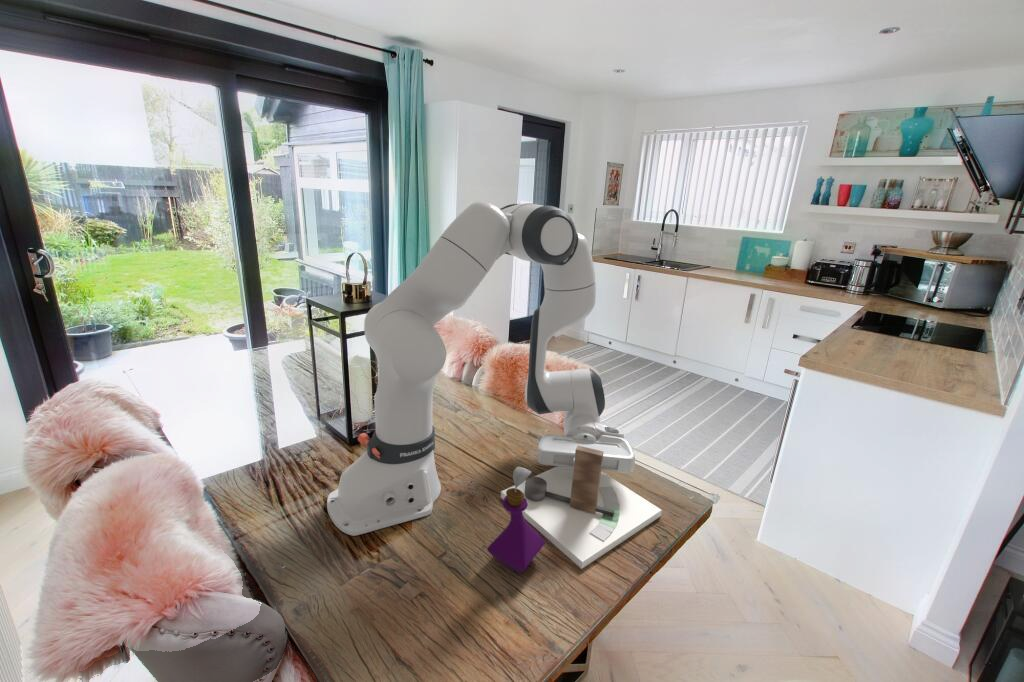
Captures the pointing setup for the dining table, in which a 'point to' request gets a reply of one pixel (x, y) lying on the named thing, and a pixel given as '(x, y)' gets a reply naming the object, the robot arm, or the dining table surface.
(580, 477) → the lever
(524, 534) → the perfume bottle
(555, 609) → the dining table surface
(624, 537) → the dial board
